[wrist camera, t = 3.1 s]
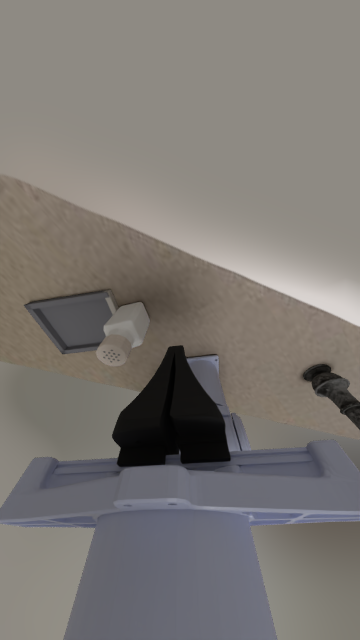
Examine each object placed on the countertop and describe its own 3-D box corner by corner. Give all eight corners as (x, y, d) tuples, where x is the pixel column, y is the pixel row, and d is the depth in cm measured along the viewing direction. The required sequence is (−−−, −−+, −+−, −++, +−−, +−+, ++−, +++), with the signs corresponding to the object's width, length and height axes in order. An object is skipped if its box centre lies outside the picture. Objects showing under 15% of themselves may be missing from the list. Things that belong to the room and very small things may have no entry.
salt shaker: (336, 372, 30) (417, 443, 20) (307, 384, 32) (367, 454, 22) (326, 359, 28) (411, 429, 18) (297, 373, 30) (357, 443, 20)
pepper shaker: (129, 325, 24) (103, 371, 16) (119, 305, 22) (83, 345, 14) (151, 321, 24) (136, 365, 15) (143, 299, 22) (120, 337, 13)
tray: (132, 341, 26) (130, 345, 25) (66, 349, 27) (62, 354, 26) (110, 289, 21) (107, 292, 20) (30, 302, 22) (23, 305, 21)
